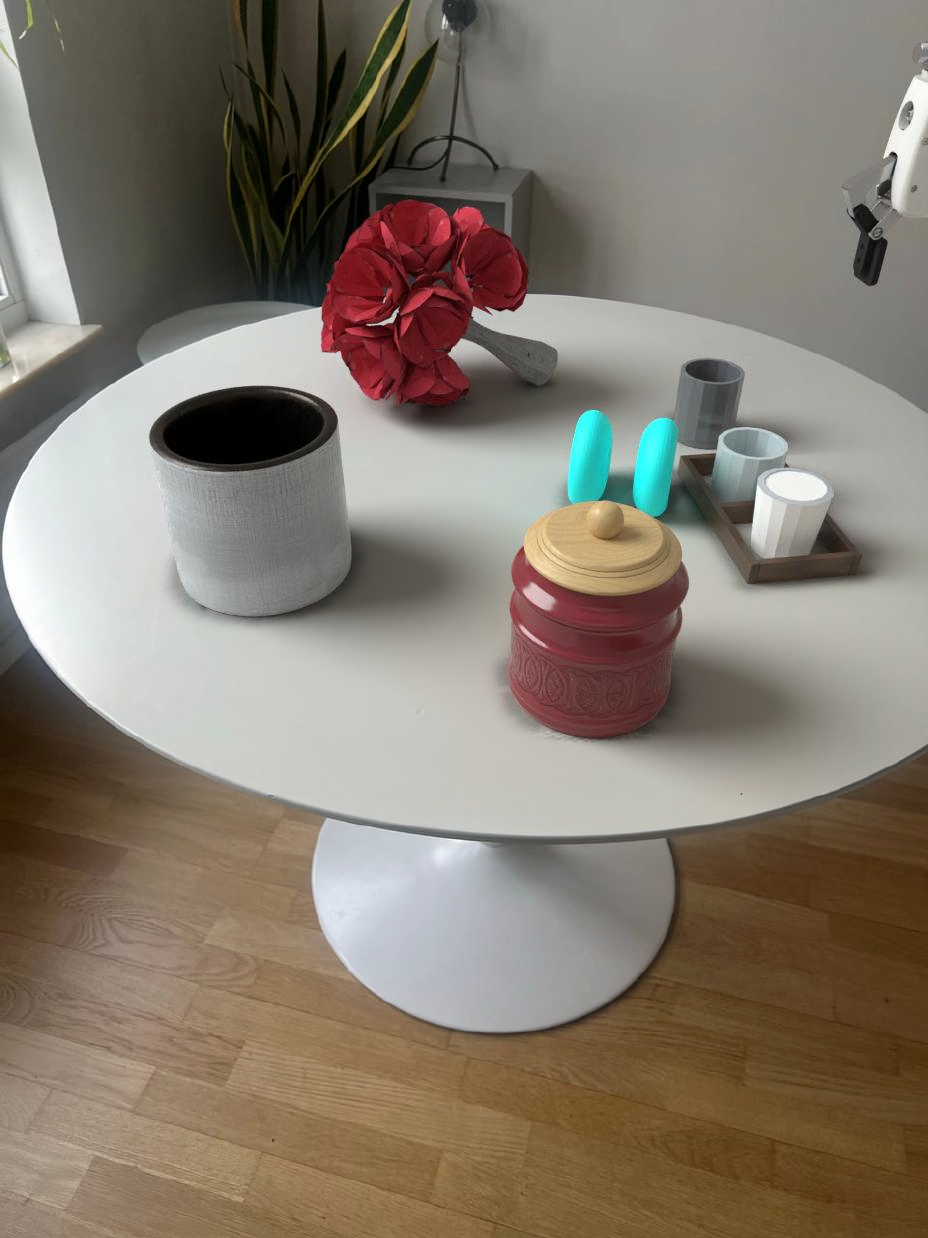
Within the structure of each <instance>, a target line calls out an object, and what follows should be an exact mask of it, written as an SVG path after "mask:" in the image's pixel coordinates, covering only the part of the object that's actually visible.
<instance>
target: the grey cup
mask: <svg viewBox="0 0 928 1238" xmlns="http://www.w3.org/2000/svg"><path fill="white" fill-rule="evenodd" d="M745 375H746V371H745V370H744V368H743V367H741V365H738V364H737V363H735V362H732V361H730V360H725V359H721V358H713V357H701V358H694V359H690V360H687V361H686V362H684V363H682V365H681V367H680V374H679V378H678V379H679V380H678V386H677V392H676V399H675V406H674V413H673V419H672V420H673V421H674V422H675V423H676V425H677V427H678V439H677V443H678V442H679V443H680V444H682V445H685V446H687V447H691V448H694V449H703V450H712V449H717V444H718V439H719V436H720V435H721V434H722V433H723V432H724V431H726V430H729V429H733V428H736V427H735V426H736V421H737V417H738V411H739V406H740V401H741V396H742V391H743V387H744V381H745Z"/></svg>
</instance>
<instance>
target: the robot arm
mask: <svg viewBox="0 0 928 1238" xmlns="http://www.w3.org/2000/svg"><path fill="white" fill-rule="evenodd" d="M912 61H913V62H914V63H915V64H917V63H922V64H921V69H922V70H921V74H914V76H913V78H912V79H911V82H910V85H909V86H908V88H907V91H906V93H905V95H904V97H903V100H902V102H901V105H900V107H899V110H898V112H897V115H896V117H895V120H894V123H893V126H892V129H891V132H890V134H889V137H888V141H887V144H886V147H885V151H884V154H883V157H882V159H880V160H878V162H875V163H874V164H872V165H870V166H869V167H866V168H865V169H863V170H862V171H860V172H858V173H856V174H855V175H853V176H852V177H850V178H848V179H846V180H845V181H844V182H843V183H842V186H841V191H842V194H843V198H844V203H845V206H846V213H847V215H848V217H849V218H850V219H851V221H852V222H853V223H854V224H855V227H856V229H857V230H858V231H859V232H860V233H859V238H858V241H857V245H856V246H857V247H856V251H855V255H854V259H853V264H852V269H853V276H854V278H856V279H857V280H859V281H860V282H862V283H863V284H864V285H866V286H867V287H874V286H876V285H877V284H878V282H879V280H880V275H881V271H882V268H883V263H884V260H885V256H886V252H887V248H888V245H889V242H888V239H886V238H884V235H885V234H886V233H887V232H889V230H891V228H892V227H894V225H896V223H897V222H898V221H899V220H900V219H901V218H902V217H904V218H908V219H927V218H928V40H926V41H924V42H918V43H916V44H915V46H914V48H913V50H912ZM874 188H875V194H874V195H875V199H876V200H875V201H874V202H873V203H872V204H871V205H870V207H868V205H867V199H866V197H867V193H868V192H869V191H870V190H872V189H874Z"/></svg>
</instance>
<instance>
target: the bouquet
mask: <svg viewBox="0 0 928 1238" xmlns="http://www.w3.org/2000/svg"><path fill="white" fill-rule="evenodd" d="M484 221H485V218H484V216H483V213H482V211H481V210H480V209H479V208H476V207H472V206H464V207H461V208H460V206H458V207H457V209H456V211H455V212H454V213H453V215H452V214H451V215H448V213H447V212H446V211H445V210H444V209H443V208H441V207H440V206H438V205H435V204H433V203H428V202H422V201H418V200H413V199H405V200H404V199H403V200H398V201H397V202H396V203H395V204H394V203H389V204H386V205H385V206H383V208H382V209H380V210H377V211H375V213H374V214H371V215H370V216H369V217H367V219H365V220H364V221H363V223H362V224H361V226H358V227H357V228H356V229H355V230H354V232H353V233H352V234H351V235H350V236H349V238H348V240H347V242H346V245H345V247H344V250H343V252H342V253H341V254H340V256H339V258H338V260H337V261H335V262H333V269H334V272H333V274H332V275H331V279H330V280H329V282H328V283H325V286H326V287H327V289H326V296H324V298H323V301H322V305H321V314H320V315H321V316H320V317H321V321H322V323H323V324H322V327H321V331H320V348H321V353H327V354H336V353H338V352H339V353H340V355H341V359H342V361H343V363H344V364H345V366H346V367H347V369H348V371H349V374H350V376H351V377H352V379H353V380H354V381H355V382H356V384H357V385H358V386H359V389H360V390H361V391H362V393H363V394H364V395H365V396H366V397H368V398H369V399H371V400H372V401H376V402H379V401H381V400H383V399H385V398H386V400H385V401H387V400H389V399H390V398H391V397H393V395H394V394H395V396H396V408H397V409H398V408H399V406H400V405H402V404H407V403H410V404H413V405H417V406H418V405H427V404H428V405H434V406H443V405H448V404H449V405H450V404H452V402H459V401H460V400H461V399H462V397H464V398H466V397H468V396H469V393H470V389H469V388H470V379H468V377H467V376H466V375H465V373H464V372H463V371H462V369H461V368H460V367H459V365H458V363H457V361H456V360H454V359H453V358H452V357H451V356H450V355H449V354H450V353H451V352H452V349H453V348H455V347H456V346H457V345H458V344H459V342H460V340H461V339H462V340H466V341H469V342H470V343H473V344H476V345H478V346H479V347H481V348H483V349H484V350H485V351H488V352H489V353H490V354H492V355H493V356H494V357H495V358H496V359H497V360H499V361H500V362H501V363H503V364H504V365H505V367H507V368H508V369H510V370H511V371H512V372H514V373H515V374H516V375H518V376H519V377H521V378H522V379H524V380H525V381H527V382H529V383H531V384H533V385H535V386H537V387H538V386H543V385H544V384H546V383H547V382H548V381H549V380H550V378H551V377H552V376H553V374H554V372H555V370H556V368H557V364H558V359H559V354H558V353H559V352H558V350H557V349H556V348H554V347H553V346H551V345H549V344H547V343H545V342H543V341H541V340H537V339H536V340H535V339H531V338H526V337H521V336H517V335H512V334H508V333H507V334H506V333H503V332H500V331H496V330H493V329H491V328H488V327H486V326H484V325H483V324H480V323H479V322H477V321H476V320H474V317H475V316H473V311H474V308H476V309H478V310H479V311H482V312H484V313H487V314H489V315H491V316H493V313H492V312H491V311H490V310H489V309H491V310H494V311H497V312H499V313H501V312H503V311H510V312H512V313H514V312H516V311H517V310H518V309H519V308H521V307H522V306H523V304H524V302H525V299H526V296H527V292H528V286H529V274H530V271H529V267H528V264H527V260H526V258H525V257H524V255H523V253H522V252H521V250H520V249H519V248H517V247H515V246H514V245H513V243H512V237H510V236H509V235H508V234H507V233H505V232H504V231H503V230H500V229H497V228H494V227H491V226H490V225H488V224H487V223H486V222H484ZM449 263H450V272H449V271H448V270H444V269H445V268H446V267H447V266H448V265H449ZM443 270H444V271H443ZM409 276H410V277H412V278H413V279H416V280H414V282H412V283H411V285H410V282H409ZM468 278H469V279H468ZM467 279H468V280H467ZM384 288H385V289H387V292H385V290H384ZM488 308H489V309H488ZM395 311H396V315H395V317H394V316H393V314H394V313H395ZM397 311H398V312H397ZM393 317H394V320H393V322H387V323H385V324H380V323H383V322H384V321H385V322H386V321H387V320H390V319H391V318H393Z"/></svg>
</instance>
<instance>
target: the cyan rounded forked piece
mask: <svg viewBox="0 0 928 1238" xmlns="http://www.w3.org/2000/svg"><path fill="white" fill-rule="evenodd" d="M575 426H576V427H575V430H574V435H573V440H572V444H571V445H572V446H571V451H570V457H569V466H568V474H567V496H568V500H569V501H570V503H571V505H572V504H576V503H581V502H588V501H600V500H601V499H602V496H603V494H604V493H605V490H606V487H607V483H608V478H609V473H610V466H611V459H612V453H613V452H612V451H613V443H614V442H613V441H614V434H613V433H614V432H613V428H612V423H611V421H610V419H609V418H608V416H607V415H605V413H604V412H602V411H600V410H597V409H589V410H587V411H585V412H583V414H582V415H580V417H579V418H578V421H577V423H576V425H575ZM677 439H678V427H677V425H676V423H675V422H674V421H673V419H671V418H669V417H659V418H656V419H654V420H652V421H651V422H650V423H649V424H648V425H647V427H646V428H645V429H644V431H643V432H642V435H641V437H640V441H639V446H638V450H637V456H636V463H635V470H634V475H633V476H634V477H633V483H632V485H633V486H632V498H633V502H634V505H635V508H636V509H639V510H641V511H643V512H645V513H646V514H648V515H649V516H651V517H653V518H657V517H660V516H661V515H662V514H664V513H665V511H666V510H667V507H668V502H669V498H670V497H669V495H670V489H671V484H672V478H673V471H674V464H675V457H676V452H677V445H678V441H677Z"/></svg>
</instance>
